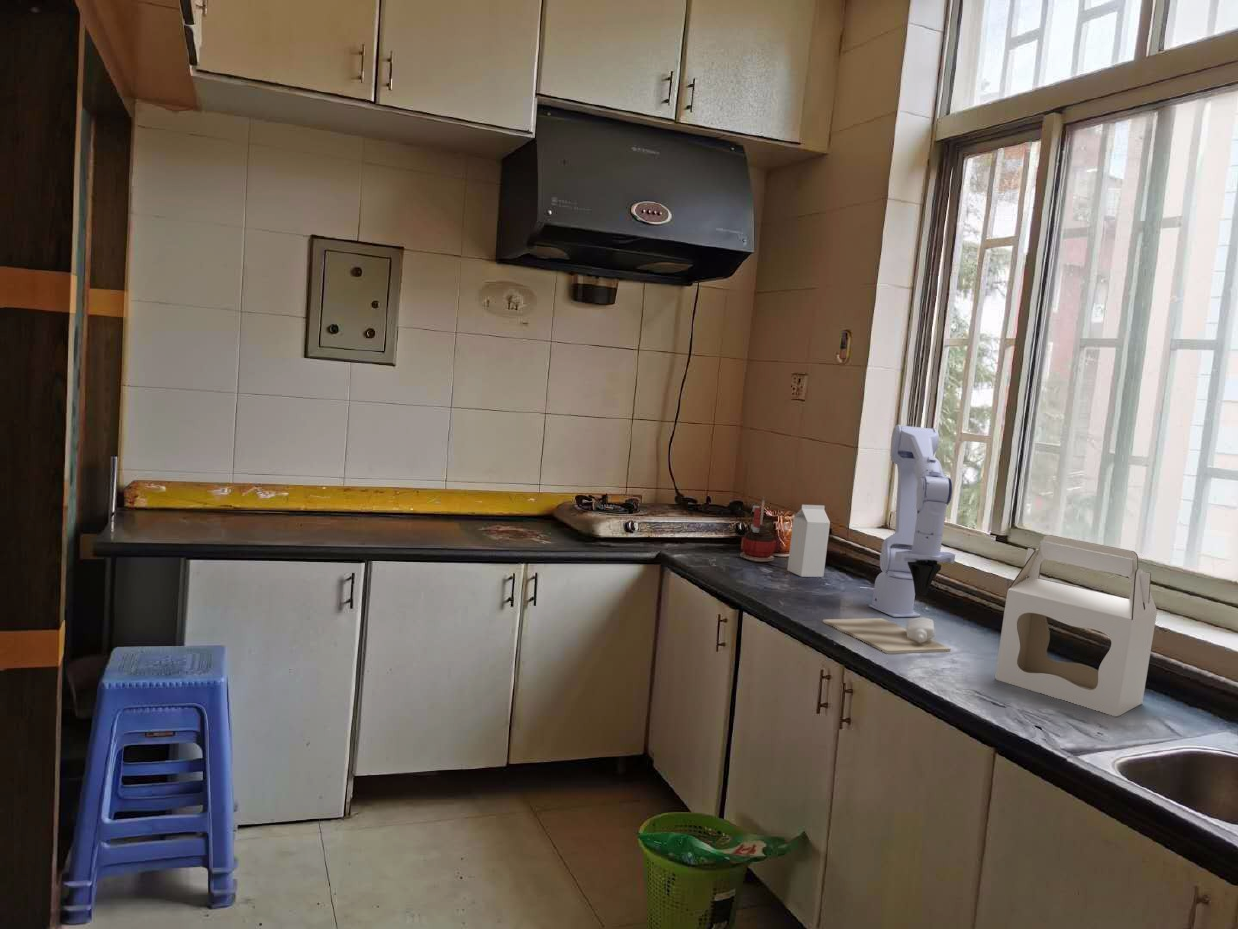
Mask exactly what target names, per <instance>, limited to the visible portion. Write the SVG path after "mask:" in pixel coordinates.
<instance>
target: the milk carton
mask: <svg viewBox="0 0 1238 929" xmlns="http://www.w3.org/2000/svg"><path fill="white" fill-rule="evenodd" d="M825 507H826V506H825V505H822V504H801V508H800V509H799V510H798V511H797V513H796V514H795V515H794V516H793V520H792V527H791V535H790V543H789V553H788V562H787V567H786V568H787V571H788V572H790V573H792V574H795V575H797V576H799V577H802V578H803V577H807V578H808V577H809V578H810V577H813V578H820V577H821V578H822V577H824V574H825V568H826V567H825V566H826V559H827V551H828V542H829V534H830V525H831V521H830V519H829V517H828V515H827V513H826V510H825V509H826V508H825Z"/></svg>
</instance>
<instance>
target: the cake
mask: <svg viewBox="0 0 1238 929" xmlns="http://www.w3.org/2000/svg"><path fill="white" fill-rule="evenodd" d="M765 502H766V497H762V499H761V508H760V506H758V505H753V506H752V512H753V518H752V519H753V520H752V523H751V524H750V529H749V530H747V532H745V533H744V535H743V536H742V537H741V541H740V549H741V550H742V552H740V554H739V555H740V557H741V558H743V559H746V560H748V561H751V562H757V563H765V562H766V563H767V562H772V561H774V560H775V557H774V556H773V552H775V551H776V546H777V541H776V540H775V536H774V534H772V532H771V531H770V530H769V529H766V525H765V524H763V518H764V510H765V505H766V504H765Z"/></svg>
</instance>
